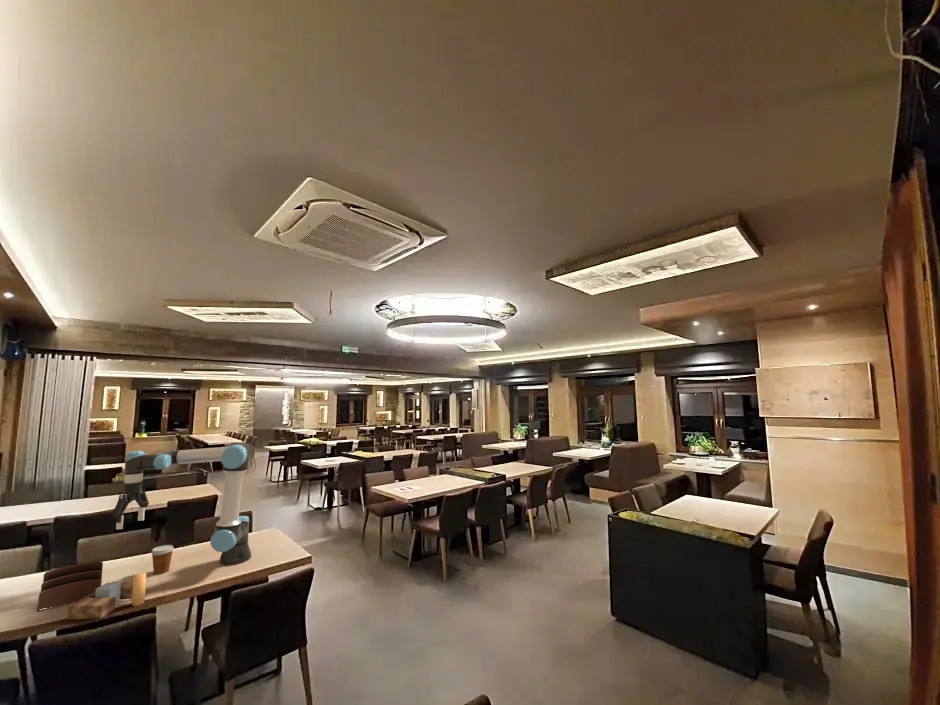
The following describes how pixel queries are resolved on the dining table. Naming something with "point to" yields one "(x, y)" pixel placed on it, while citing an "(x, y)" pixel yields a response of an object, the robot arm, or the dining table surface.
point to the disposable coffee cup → (162, 558)
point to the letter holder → (70, 584)
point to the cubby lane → (98, 603)
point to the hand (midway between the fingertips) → (130, 524)
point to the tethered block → (115, 590)
